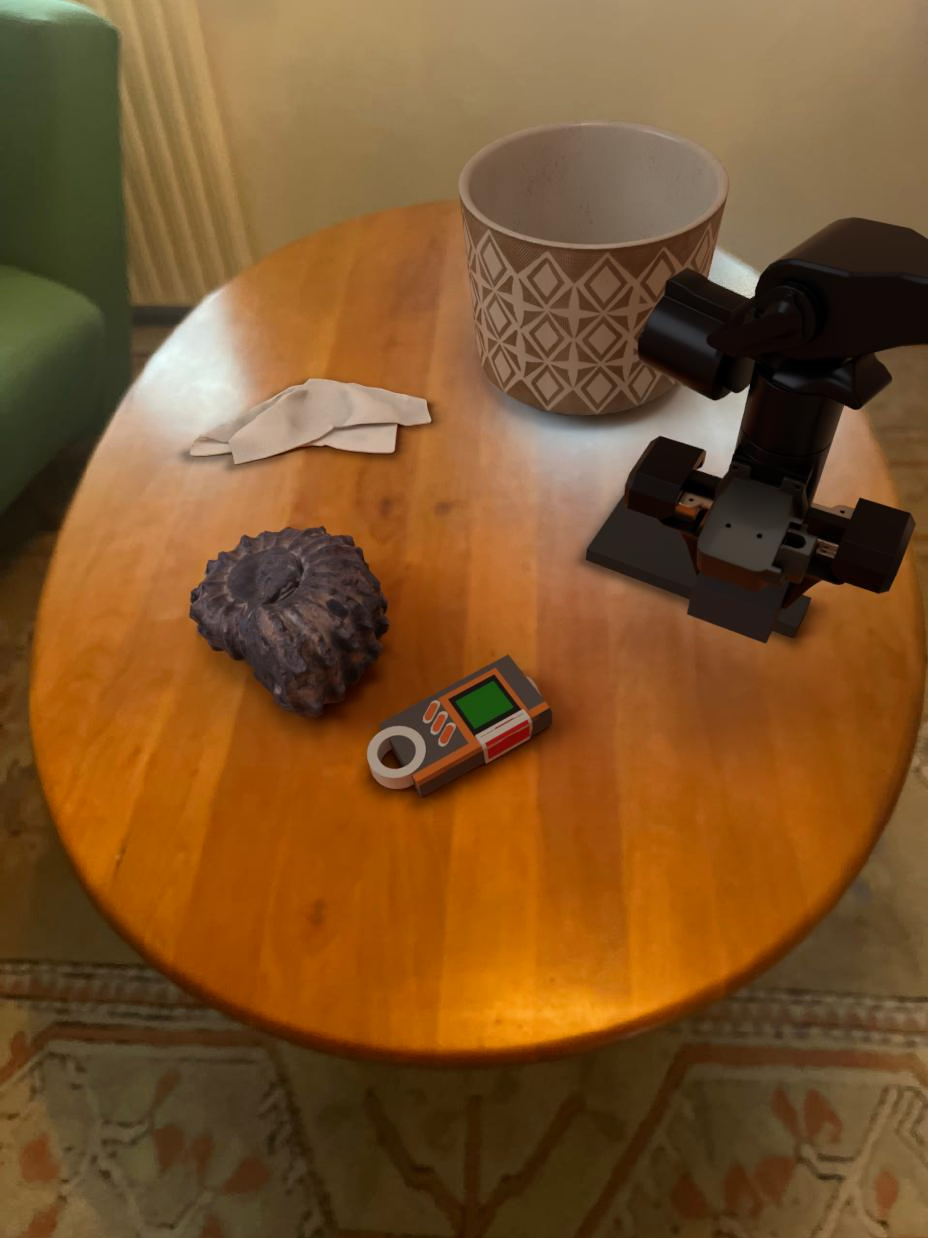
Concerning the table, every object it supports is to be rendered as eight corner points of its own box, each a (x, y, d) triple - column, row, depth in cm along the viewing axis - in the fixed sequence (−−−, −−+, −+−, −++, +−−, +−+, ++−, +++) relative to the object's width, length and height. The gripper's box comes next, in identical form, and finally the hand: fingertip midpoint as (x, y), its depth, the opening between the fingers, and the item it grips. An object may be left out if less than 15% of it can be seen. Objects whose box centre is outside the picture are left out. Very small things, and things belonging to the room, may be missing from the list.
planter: (451, 432, 103) (437, 241, 86) (485, 299, 119) (479, 116, 102) (696, 449, 99) (732, 252, 82) (697, 309, 116) (727, 121, 99)
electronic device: (352, 735, 76) (511, 649, 79) (358, 753, 78) (513, 669, 82) (391, 799, 72) (556, 706, 76) (396, 817, 74) (557, 726, 78)
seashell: (331, 769, 78) (449, 632, 77) (208, 705, 70) (338, 552, 69) (265, 650, 93) (363, 535, 92) (157, 587, 85) (263, 459, 84)
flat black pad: (844, 530, 91) (848, 519, 90) (793, 638, 83) (797, 627, 82) (649, 465, 98) (651, 454, 97) (585, 559, 90) (586, 548, 89)
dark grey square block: (791, 588, 74) (802, 557, 71) (766, 644, 70) (775, 613, 68) (714, 561, 76) (722, 530, 73) (686, 614, 72) (692, 583, 70)
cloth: (431, 376, 109) (429, 359, 108) (431, 455, 101) (429, 438, 99) (206, 388, 110) (201, 371, 108) (187, 467, 101) (181, 451, 99)
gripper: (598, 458, 59) (584, 619, 71) (908, 559, 53) (835, 717, 65) (666, 362, 65) (643, 524, 77) (952, 441, 59) (878, 605, 71)
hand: (742, 590), depth 72 cm, fingers closed on dark grey square block, 6 cm apart
